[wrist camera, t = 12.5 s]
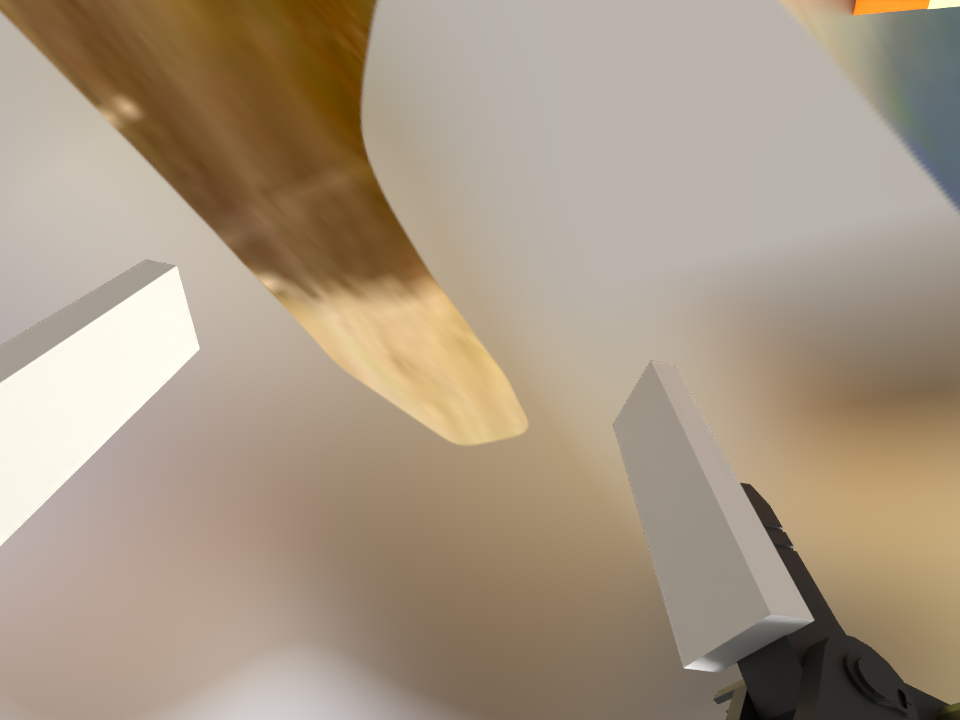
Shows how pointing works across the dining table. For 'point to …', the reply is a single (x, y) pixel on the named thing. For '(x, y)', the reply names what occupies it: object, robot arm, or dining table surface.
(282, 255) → the dining table surface
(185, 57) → the dining table surface
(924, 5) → the orange juice
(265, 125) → the dining table surface
